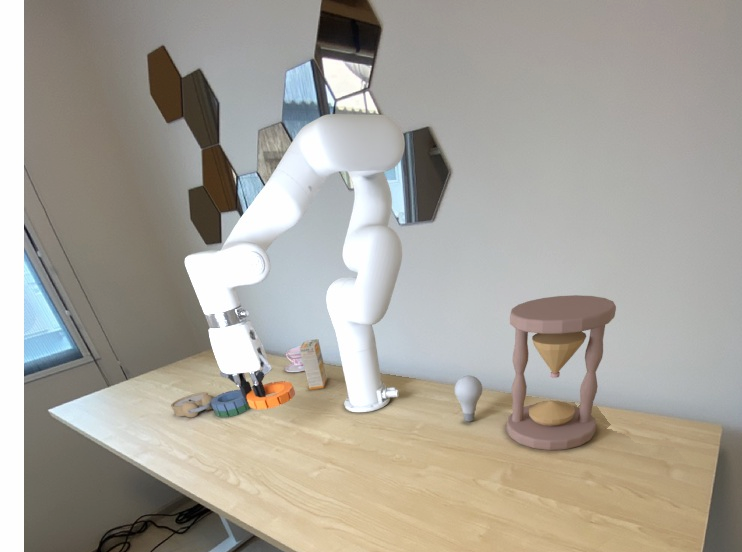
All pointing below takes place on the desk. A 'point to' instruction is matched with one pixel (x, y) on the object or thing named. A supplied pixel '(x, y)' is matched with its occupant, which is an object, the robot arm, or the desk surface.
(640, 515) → the desk surface
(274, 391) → the orange ring
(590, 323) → the hourglass
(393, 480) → the desk surface
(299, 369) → the teacup
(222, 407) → the ring stack
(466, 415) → the lightbulb
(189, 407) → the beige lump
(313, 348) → the supplement box
